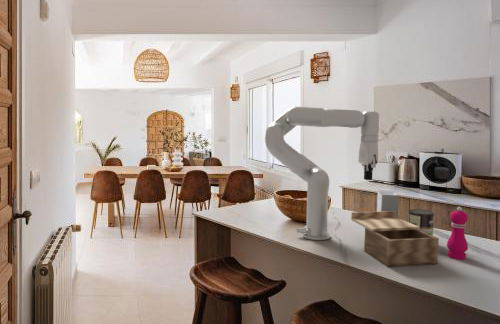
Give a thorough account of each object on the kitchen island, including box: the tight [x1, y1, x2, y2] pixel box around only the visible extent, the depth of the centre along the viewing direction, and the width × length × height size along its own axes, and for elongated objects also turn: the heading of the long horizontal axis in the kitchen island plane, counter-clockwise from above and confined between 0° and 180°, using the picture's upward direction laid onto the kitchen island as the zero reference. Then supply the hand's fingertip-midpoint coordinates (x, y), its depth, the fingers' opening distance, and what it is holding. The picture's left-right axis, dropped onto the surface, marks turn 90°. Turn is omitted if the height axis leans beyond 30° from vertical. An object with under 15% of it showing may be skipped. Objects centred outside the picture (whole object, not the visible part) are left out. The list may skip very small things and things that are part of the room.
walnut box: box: [363, 227, 440, 268], centre depth 147 cm, size 20×18×10 cm
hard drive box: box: [376, 189, 400, 218], centre depth 180 cm, size 16×8×20 cm, turn 168°
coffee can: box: [408, 208, 435, 236], centre depth 166 cm, size 10×10×14 cm
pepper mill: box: [446, 206, 469, 260], centre depth 147 cm, size 7×7×20 cm
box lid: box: [350, 210, 419, 231], centre depth 158 cm, size 20×18×4 cm
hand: (368, 179), depth 171 cm, fingers closed
